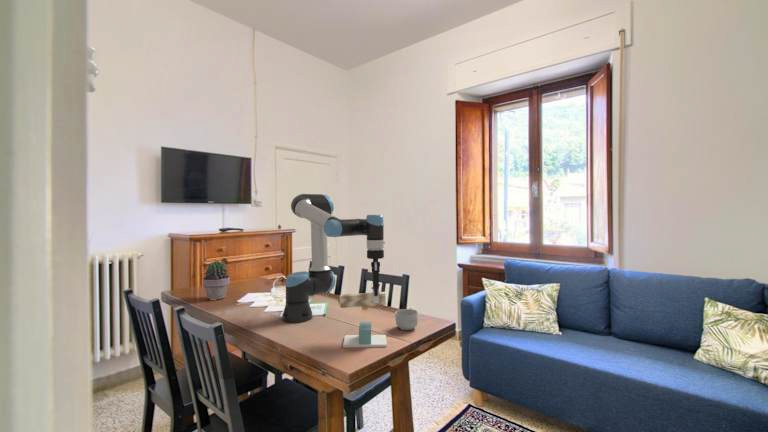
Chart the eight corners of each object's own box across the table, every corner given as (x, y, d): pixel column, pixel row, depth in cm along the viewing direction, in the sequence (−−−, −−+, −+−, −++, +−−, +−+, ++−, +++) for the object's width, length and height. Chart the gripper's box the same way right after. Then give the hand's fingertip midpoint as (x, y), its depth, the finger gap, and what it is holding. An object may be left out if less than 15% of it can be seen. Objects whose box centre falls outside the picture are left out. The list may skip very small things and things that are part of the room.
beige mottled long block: (340, 307, 152) (339, 296, 152) (340, 305, 156) (340, 294, 156) (385, 304, 153) (385, 293, 153) (385, 302, 156) (384, 291, 156)
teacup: (411, 333, 158) (411, 316, 158) (390, 329, 164) (390, 312, 164) (424, 325, 170) (424, 308, 170) (404, 321, 176) (404, 305, 176)
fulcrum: (343, 347, 143) (343, 330, 143) (345, 337, 154) (345, 321, 154) (386, 346, 143) (386, 330, 143) (385, 337, 154) (385, 321, 154)
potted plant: (191, 302, 210) (191, 261, 210) (212, 294, 230) (212, 256, 229) (218, 303, 207) (218, 262, 207) (237, 295, 227) (237, 257, 226)
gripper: (384, 251, 146) (385, 306, 146) (383, 247, 163) (383, 297, 163) (366, 251, 146) (367, 307, 146) (367, 247, 162) (367, 297, 163)
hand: (376, 301), depth 154 cm, fingers closed on beige mottled long block, 3 cm apart
